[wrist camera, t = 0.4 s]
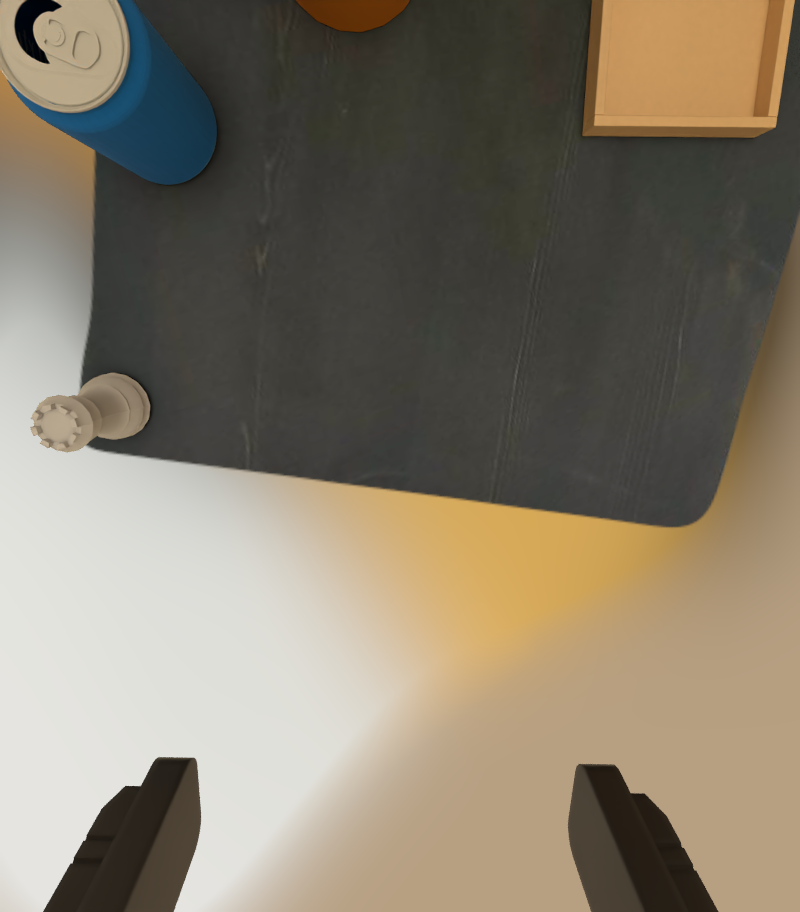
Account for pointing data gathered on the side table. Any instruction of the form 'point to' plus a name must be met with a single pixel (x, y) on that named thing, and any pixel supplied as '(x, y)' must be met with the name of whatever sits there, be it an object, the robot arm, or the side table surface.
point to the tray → (685, 67)
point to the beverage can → (108, 84)
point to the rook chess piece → (92, 413)
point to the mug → (353, 12)
